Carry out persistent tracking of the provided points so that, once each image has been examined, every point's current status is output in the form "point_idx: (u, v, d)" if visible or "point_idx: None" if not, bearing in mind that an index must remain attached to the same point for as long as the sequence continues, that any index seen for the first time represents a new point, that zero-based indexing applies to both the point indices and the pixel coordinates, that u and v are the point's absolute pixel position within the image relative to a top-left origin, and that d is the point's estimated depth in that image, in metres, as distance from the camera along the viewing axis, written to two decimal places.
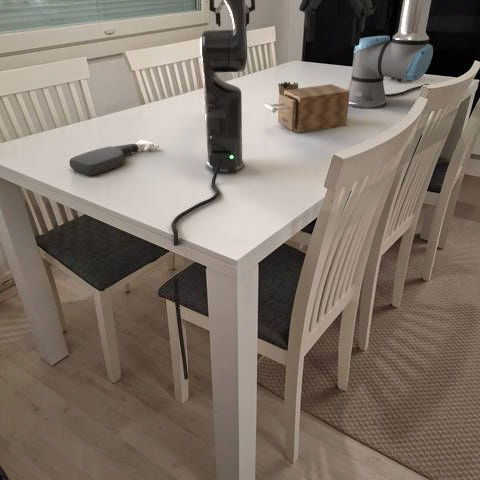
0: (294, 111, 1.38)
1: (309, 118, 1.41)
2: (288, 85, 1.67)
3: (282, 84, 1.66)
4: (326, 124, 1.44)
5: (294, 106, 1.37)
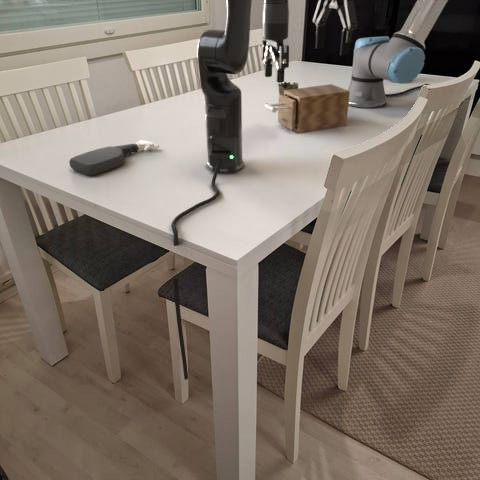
0: (294, 111, 1.38)
1: (309, 118, 1.41)
2: (288, 85, 1.67)
3: (282, 84, 1.66)
4: (326, 124, 1.44)
5: (294, 106, 1.37)
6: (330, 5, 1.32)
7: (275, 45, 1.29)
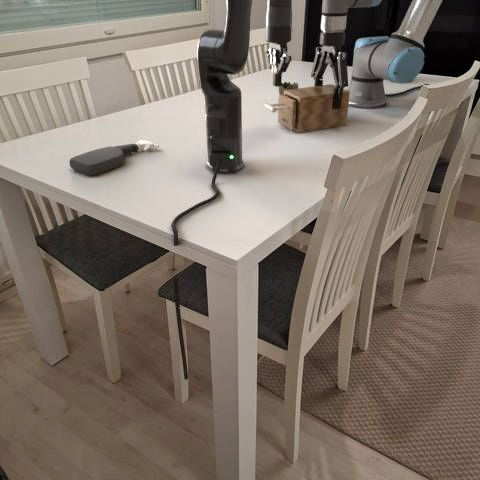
0: (294, 111, 1.38)
1: (309, 118, 1.41)
2: (288, 85, 1.67)
3: (282, 84, 1.66)
4: (326, 124, 1.44)
5: (294, 106, 1.37)
6: (325, 60, 1.40)
7: (279, 48, 1.28)
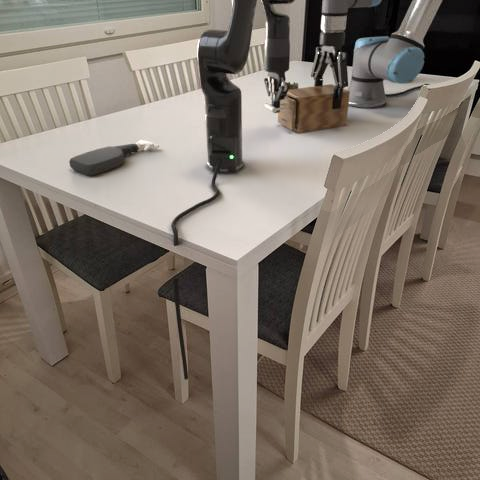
0: (294, 111, 1.38)
1: (309, 118, 1.41)
2: None
3: None
4: (326, 124, 1.44)
5: (294, 106, 1.37)
6: (325, 60, 1.40)
7: (277, 77, 1.32)
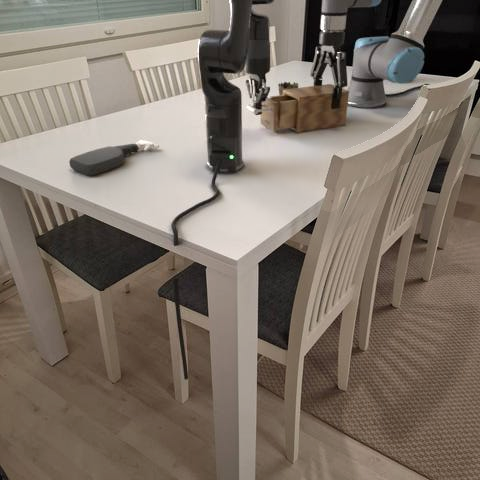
0: (276, 113, 1.36)
1: (308, 118, 1.41)
2: (288, 85, 1.67)
3: (282, 84, 1.66)
4: (325, 124, 1.44)
5: (276, 108, 1.35)
6: (325, 60, 1.40)
7: (258, 79, 1.30)
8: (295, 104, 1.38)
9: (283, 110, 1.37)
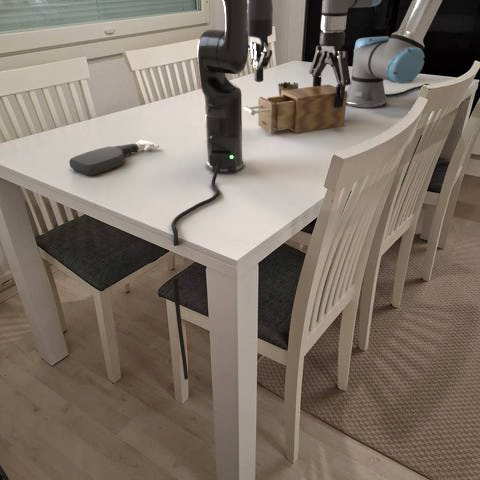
0: (273, 114, 1.36)
1: (306, 118, 1.40)
2: (288, 85, 1.67)
3: (282, 84, 1.66)
4: (324, 124, 1.44)
5: (273, 109, 1.35)
6: (325, 60, 1.40)
7: (259, 42, 1.25)
8: (292, 105, 1.38)
9: (280, 111, 1.37)
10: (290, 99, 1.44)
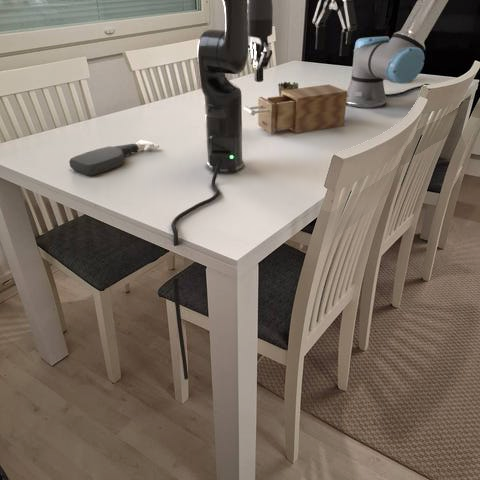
0: (273, 114, 1.36)
1: (306, 118, 1.40)
2: (288, 85, 1.67)
3: (282, 84, 1.66)
4: (324, 124, 1.44)
5: (273, 109, 1.35)
6: (330, 6, 1.32)
7: (259, 42, 1.25)
8: (292, 105, 1.38)
9: (280, 111, 1.37)
10: (290, 99, 1.44)
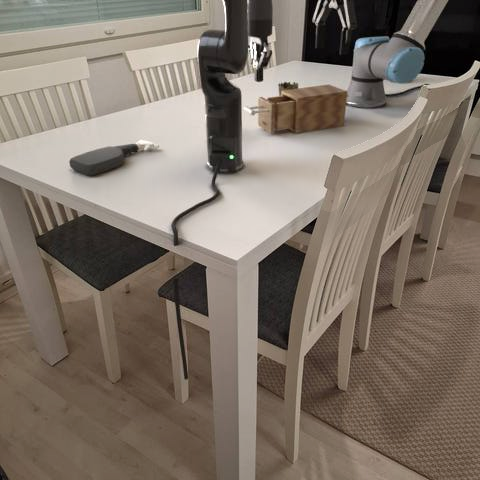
0: (273, 114, 1.36)
1: (306, 118, 1.40)
2: (288, 85, 1.67)
3: (282, 84, 1.66)
4: (324, 124, 1.44)
5: (273, 109, 1.35)
6: (330, 5, 1.32)
7: (259, 42, 1.25)
8: (292, 105, 1.38)
9: (280, 111, 1.37)
10: (290, 99, 1.44)
